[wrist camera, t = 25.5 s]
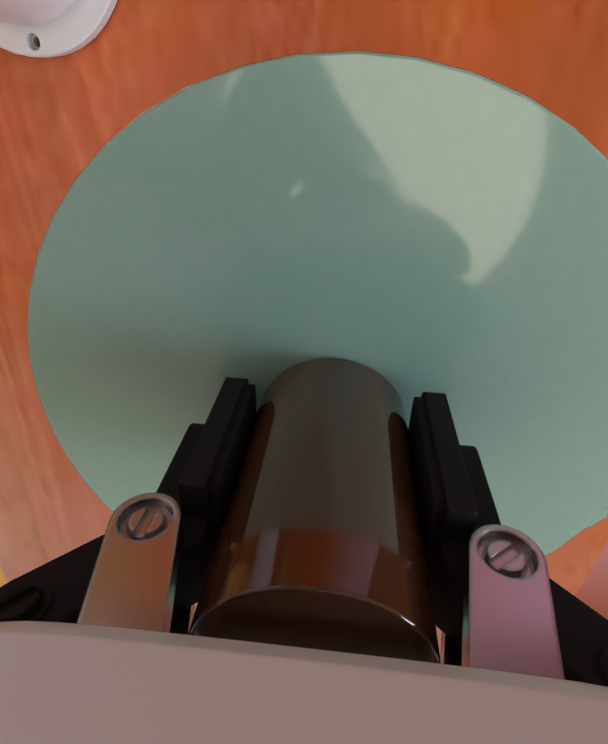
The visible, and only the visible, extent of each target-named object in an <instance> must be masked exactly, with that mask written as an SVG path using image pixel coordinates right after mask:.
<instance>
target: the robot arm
mask: <svg viewBox="0 0 608 744" xmlns="http://www.w3.org/2000/svg"><path fill="white" fill-rule="evenodd" d="M116 3H117V0H0V48H2V49H5V50H7V51H9V52H12V53H15V54H20V55H25V56H30V57H41V58H51V57H58V56H64V55H68V54H70V53H72V52H75V51H77V50H79V49H81V48H83V47H84V46H85V45H87V44H88V43H89V42H90V41H92V40H93V39H94V38H96V36H97V35H98V34H99V33H100V31H101V30H102V29H103V27H104V26H105V25H106V23H107V22H108V20H109V18H110V16H111V14H112V12H113V10H114V8H115V5H116ZM38 39H39V41H40V46H39V44H38ZM255 417H256V388H255V385H254V384H249V382H248V379H246V378H233V377H226V379H225V380H224V383H223V385H222V387H221V389H220V391H219V394H218V396H217V398H216V400H215V402H214V405H213V407H212V409H211V411H210V414H209V416H208V418H207V420H206V422H205V424H199V423H192V424H190V426H189V427H188V429H187V431H186V433H185V435H184V437H183V439H182V441H181V443H180V445H179V447H178V449H177V451H176V453H175V455H174V457H173V459H172V461H171V463H170V465H169V467H168V469H167V471H166V473H165V475H164V477H163V479H162V481H161V483H160V485H159V487H158V489H157V491H156V493H152V492H151V493H145V494H140V495H137V496H134V497H132V498H130V499H128V500H127V501H125V502H123V503H122V504H121V505H120V506H119V507H118V508H117V509H116V510H115V511H114V512H113V514H112V516H111V518H110V520H109V523H108V526H107V529H106V532H105V534H104V535H102V536H100V537H98V538H96V539H94V540H92V541H90V542H88V543H86V544H84V545H82V546H80V547H78V548H76V549H74V550H72V551H70V552H68V553H66V554H64V555H62V556H60V557H58V558H56V559H54V560H52V561H50V562H48V563H46V564H44V565H42V566H40V567H38V568H36V569H34V570H32V571H30V572H28V573H26V574H24V575H22V576H20V577H18V578H16V579H14V580H12V581H10V582H8V583H7V584H5V585H4V586H2V587H0V744H608V620H607V619H605V618H604V617H602V616H601V615H600V614H598V613H597V612H596V611H594V610H593V609H591V608H590V607H589V606H587V605H586V604H585V603H583V602H582V601H580V600H579V599H578V598H576V597H575V596H573V595H572V594H571V593H569V592H568V591H566V590H565V589H564V588H562V587H561V586H560V585H558V584H557V583H555V582H554V581H553V580H551V579H550V578H549V574H548V568H547V562H546V559H545V556H544V553H543V552H542V550H541V549H540V548H539V546H538V545H537V544H536V543H535V542H534V541H533V540H532V539H531V538H530V537H529V536H527V535H526V534H524V533H522V532H520V531H519V530H517V529H514V528H511V527H508V526H505V525H501V522H500V519H499V516H498V513H497V510H496V506H495V503H494V500H493V497H492V494H491V491H490V488H489V485H488V481H487V478H486V475H485V472H484V469H483V466H482V463H481V460H480V457H479V453H478V451H477V449H476V447H474V446H467V445H460V444H459V440H458V436H457V433H456V429H455V426H454V422H453V418H452V415H451V411H450V407H449V404H448V400H447V397H446V394H445V393H434V392H423V393H422V395H421V397H414V399H413V404H412V410H411V415H410V421H409V427H408V434H409V441H410V448H411V455H412V462H413V469H414V476H415V483H416V491H417V498H418V505H419V512H420V519H421V526H422V533H423V540H424V547H425V555H426V562H427V569H428V576H429V583H430V590H431V597H432V604H433V612H434V619H435V625H436V626H437V627H438V628H439V629H440V630H441V631H442V635H441V651H440V663H441V664H438V663H430V662H421V661H413V660H405V659H396V658H388V657H379V656H371V655H362V654H353V653H345V652H336V651H327V650H319V649H310V648H301V647H292V646H284V645H275V644H266V643H257V642H248V641H240V640H230V639H221V638H212V637H203V636H194V635H188V634H189V630H190V626H191V623H192V620H193V617H194V612H195V603H197V602H198V601H199V597H200V594H201V591H202V588H203V585H204V581H205V578H206V575H207V572H208V568H209V565H210V562H211V559H212V556H213V552H214V549H215V546H216V543H217V539H218V536H219V533H220V530H221V527H222V523H223V520H224V517H225V514H226V510H227V507H228V504H229V501H230V498H231V494H232V491H233V488H234V485H235V481H236V478H237V475H238V472H239V469H240V465H241V462H242V459H243V456H244V453H245V449H246V446H247V443H248V440H249V436H250V433H251V430H252V427H253V424H254V420H255Z"/></svg>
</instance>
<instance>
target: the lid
mask: <svg viewBox="0 0 608 744" xmlns="http://www.w3.org/2000/svg"><path fill="white" fill-rule="evenodd" d="M27 332H28V343H29V353H30V363H31V368H32V372H33V376H34V380H35V384H36V388H37V392H38V396H39V399H40V402H41V404H42V407H43V409H44V412H45V414H46V417H47V419H48V422H49V425H50V427H51V429H52V431H53V433H54V435H55V436H56V438H57V440H58V442H59V444H60V446H61V447H62V449H63V451H64V453H65V455H66V456H67V458H68V459H69V461H70V462H71V463H72V465H73V466H74V468H75V469H76V470H77V472H78V473H79V475H80V476H81V478H82V479H83V480H84V482H85V483H86V484H87V485H88V486H89V487H90V488H91V490H92V491H93V492H94V493H95V494H96V495H97V496H98V497H99V499H100V500H101V501H102V502H103V503H104V504H105V505H106V506H107V507H108V508H109V509H110V510H111V511H112V512H114V511H115V510H116V509H117V508H118V507H119V506H120V505H121V504H122V503H123V502H125V501H127V500H128V499H130V498H132V497H134V496H137V495H140V494H145V493H151V492H152V493H156V491H157V489H158V487H159V485H160V483H161V481H162V479H163V477H164V475H165V473H166V471H167V469H168V467H169V465H170V463H171V461H172V459H173V457H174V455H175V453H176V451H177V449H178V447H179V445H180V443H181V441H182V439H183V437H184V435H185V433H186V431H187V429H188V427H189V426H190V424H192V423H199V424H205V422H206V420H207V418H208V416H209V414H210V411H211V409H212V407H213V405H214V402H215V400H216V398H217V396H218V394H219V391H220V389H221V387H222V385H223V383H224V380H225V379H226V377H233V378H246V379H248V382H249V384H254V385H255V388H256V417H255V420H254V424H253V427H252V430H251V433H250V436H249V440H248V443H247V446H246V449H245V453H244V456H243V459H242V462H241V465H240V469H239V472H238V475H237V478H236V481H235V485H234V488H233V491H232V494H231V498H230V501H229V504H228V507H227V510H226V514H225V517H224V520H223V523H222V527H221V530H220V533H219V536H218V539H217V543H216V546H215V549H214V552H213V556H212V559H211V562H210V565H209V568H208V572H207V575H206V578H205V581H204V585H203V588H202V591H201V594H200V597H199V601H198V604H197V607H196V610H195V614H194V617H193V620H192V623H191V626H190V630H189V634H188V635H194V636H203V637H212V638H221V639H230V640H240V641H248V642H257V643H266V644H275V645H284V646H292V647H301V648H310V649H319V650H327V651H336V652H345V653H353V654H362V655H371V656H379V657H388V658H396V659H405V660H413V661H421V662H430V663H438V664H441V663H440V654H439V647H438V640H437V633H436V626H435V619H434V612H433V604H432V597H431V590H430V583H429V576H428V569H427V562H426V555H425V547H424V540H423V533H422V526H421V519H420V512H419V505H418V498H417V491H416V483H415V476H414V469H413V462H412V455H411V448H410V441H409V434H408V427H409V421H410V415H411V410H412V404H413V399H414V397H421V395H422V393H423V392H434V393H445V394H446V397H447V400H448V404H449V407H450V411H451V415H452V418H453V422H454V426H455V429H456V433H457V436H458V440H459V444H460V445H467V446H474V447H476V449H477V451H478V453H479V457H480V460H481V463H482V466H483V469H484V472H485V475H486V478H487V481H488V485H489V488H490V491H491V494H492V497H493V500H494V503H495V506H496V510H497V513H498V516H499V519H500V522H501V525H505V526H508V527H511V528H514V529H517V530H519V531H520V532H522V533H524V534H526V535H527V536H529V537H530V538H531V539H532V540H533V541H534V542H535V543H536V544H537V545H538V546H539V548H540V549H541V550H542V552H543V553H544V556H546V555H548V554H550V553H551V552H553V551H555V550H556V549H558V548H559V547H561V546H562V545H563V544H565V543H566V542H567V541H569V540H570V539H571V538H573V537H574V536H575V535H577V534H578V533H579V532H581V531H582V530H583V529H585V528H586V527H587V526H588V525H589V524H590V523H591V522H592V521H593V520H594V519H595V518H596V517H597V516H599V515H600V514H601V513H602V512H603V511H604V510H605V509H606V508H607V507H608V159H607V158H606V157H605V156H604V155H603V154H602V153H601V152H600V151H599V150H598V149H597V148H595V147H594V146H593V145H592V144H591V143H590V142H589V141H588V140H587V139H586V138H585V137H584V136H583V135H582V134H581V133H580V132H579V131H578V130H577V129H576V128H574V127H573V126H571V125H570V124H568V123H567V122H566V121H564V120H563V119H561V118H560V117H558V116H557V115H555V114H554V113H552V112H551V111H549V110H548V109H546V108H545V107H543V106H542V105H540V104H539V103H537V102H536V101H534V100H533V99H531V98H530V97H528V96H526V95H524V94H522V93H520V92H517V91H515V90H513V89H511V88H508V87H506V86H504V85H502V84H500V83H497V82H495V81H493V80H491V79H489V78H486V77H484V76H482V75H480V74H477V73H475V72H472V71H468V70H464V69H461V68H457V67H453V66H450V65H446V64H442V63H438V62H435V61H431V60H427V59H424V58H420V57H415V56H405V55H396V54H386V53H377V52H367V51H357V50H355V51H337V52H318V53H299V54H293V55H288V56H284V57H279V58H274V59H270V60H265V61H260V62H256V63H251V64H246V65H242V66H238V67H236V68H233V69H231V70H228V71H226V72H223V73H220V74H218V75H215V76H213V77H210V78H207V79H205V80H202V81H200V82H197V83H195V84H192V85H189V86H187V87H186V88H184V89H182V90H181V91H179V92H177V93H175V94H174V95H172V96H170V97H169V98H167V99H165V100H163V101H162V102H160V103H158V104H157V105H155V106H153V107H152V108H150V109H148V110H146V111H145V112H143V113H142V114H141V115H139V116H138V117H137V118H136V119H135V120H133V121H132V122H131V123H130V124H129V125H127V126H126V127H125V128H124V129H123V130H121V131H120V132H119V133H118V134H117V135H115V136H114V137H113V138H112V139H111V140H109V141H108V142H107V143H106V144H105V145H104V146H103V147H102V148H101V149H100V151H99V152H98V153H97V154H96V155H95V156H94V158H93V159H92V160H91V161H90V162H89V163H88V165H87V166H86V167H85V168H84V169H83V170H82V172H81V173H80V174H79V175H78V176H77V177H76V178H75V180H74V181H73V183H72V185H71V186H70V188H69V190H68V191H67V193H66V195H65V196H64V198H63V200H62V201H61V203H60V205H59V206H58V208H57V210H56V211H55V213H54V215H53V216H52V219H51V221H50V224H49V226H48V229H47V232H46V234H45V237H44V239H43V242H42V244H41V247H40V249H39V252H38V254H37V259H36V263H35V268H34V272H33V277H32V282H31V286H30V291H29V305H28V323H27Z"/></svg>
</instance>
